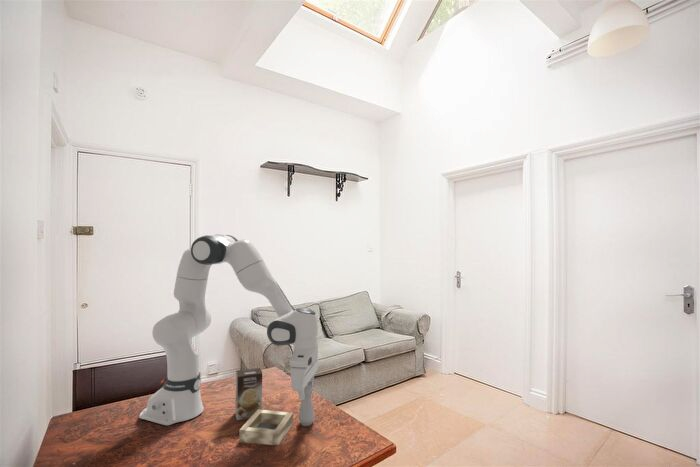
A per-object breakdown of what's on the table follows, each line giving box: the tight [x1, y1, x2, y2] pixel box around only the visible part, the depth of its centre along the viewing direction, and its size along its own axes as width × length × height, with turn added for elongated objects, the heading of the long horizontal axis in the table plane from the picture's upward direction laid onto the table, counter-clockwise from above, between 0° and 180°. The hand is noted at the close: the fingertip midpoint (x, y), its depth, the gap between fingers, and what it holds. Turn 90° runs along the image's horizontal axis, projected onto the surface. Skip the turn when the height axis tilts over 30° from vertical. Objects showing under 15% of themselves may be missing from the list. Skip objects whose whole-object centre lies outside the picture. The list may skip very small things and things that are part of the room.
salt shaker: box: [297, 385, 315, 427], centre depth 123 cm, size 6×6×13 cm
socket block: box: [238, 409, 294, 446], centre depth 118 cm, size 14×14×4 cm
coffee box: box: [235, 367, 263, 421], centre depth 130 cm, size 9×6×16 cm
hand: (306, 392), depth 124 cm, fingers open, 8 cm apart
